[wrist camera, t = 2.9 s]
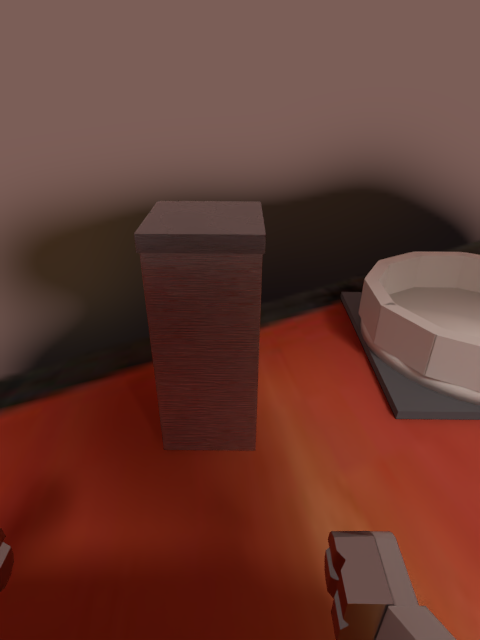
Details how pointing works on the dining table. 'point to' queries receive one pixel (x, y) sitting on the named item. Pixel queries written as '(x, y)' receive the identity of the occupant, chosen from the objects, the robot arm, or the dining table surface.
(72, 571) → the dining table surface
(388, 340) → the bowl
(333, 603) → the robot arm
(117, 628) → the dining table surface
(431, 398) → the mat
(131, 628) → the dining table surface
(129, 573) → the dining table surface
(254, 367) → the tin
